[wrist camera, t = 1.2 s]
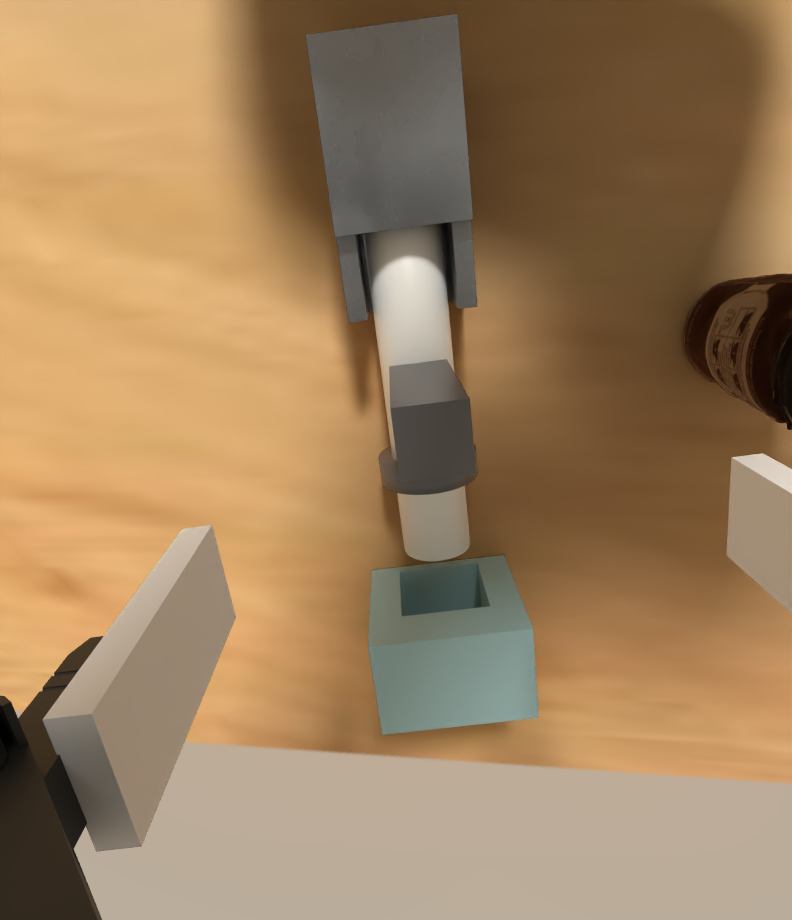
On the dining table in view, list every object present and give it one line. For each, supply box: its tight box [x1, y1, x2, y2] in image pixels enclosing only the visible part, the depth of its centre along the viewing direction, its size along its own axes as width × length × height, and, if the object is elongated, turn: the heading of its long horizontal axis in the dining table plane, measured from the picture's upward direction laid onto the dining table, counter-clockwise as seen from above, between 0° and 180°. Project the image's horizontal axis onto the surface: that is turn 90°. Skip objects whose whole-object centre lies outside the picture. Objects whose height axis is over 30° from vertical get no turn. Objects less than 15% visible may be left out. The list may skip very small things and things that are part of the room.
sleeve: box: [306, 14, 477, 323], centre depth 30 cm, size 12×6×7 cm, turn 7°
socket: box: [368, 555, 538, 735], centre depth 38 cm, size 6×9×8 cm, turn 97°
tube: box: [363, 224, 478, 561], centre depth 29 cm, size 25×6×14 cm, turn 7°
